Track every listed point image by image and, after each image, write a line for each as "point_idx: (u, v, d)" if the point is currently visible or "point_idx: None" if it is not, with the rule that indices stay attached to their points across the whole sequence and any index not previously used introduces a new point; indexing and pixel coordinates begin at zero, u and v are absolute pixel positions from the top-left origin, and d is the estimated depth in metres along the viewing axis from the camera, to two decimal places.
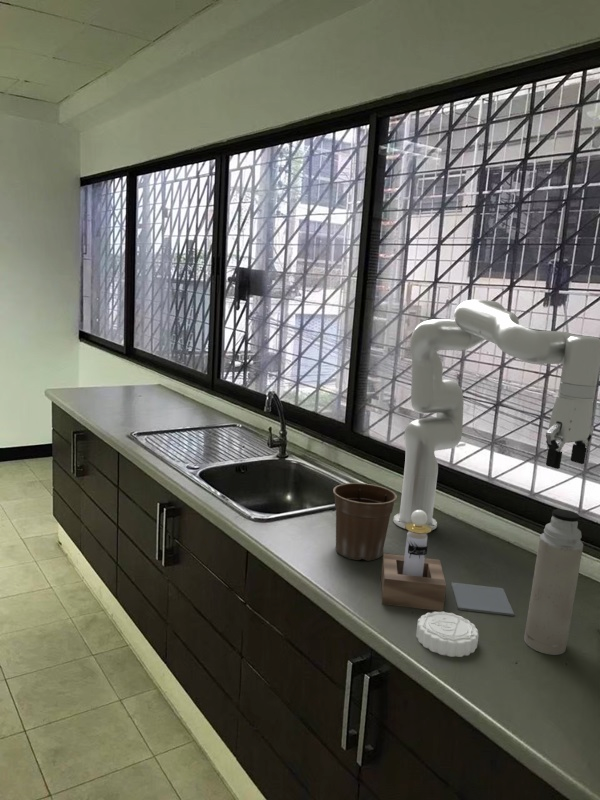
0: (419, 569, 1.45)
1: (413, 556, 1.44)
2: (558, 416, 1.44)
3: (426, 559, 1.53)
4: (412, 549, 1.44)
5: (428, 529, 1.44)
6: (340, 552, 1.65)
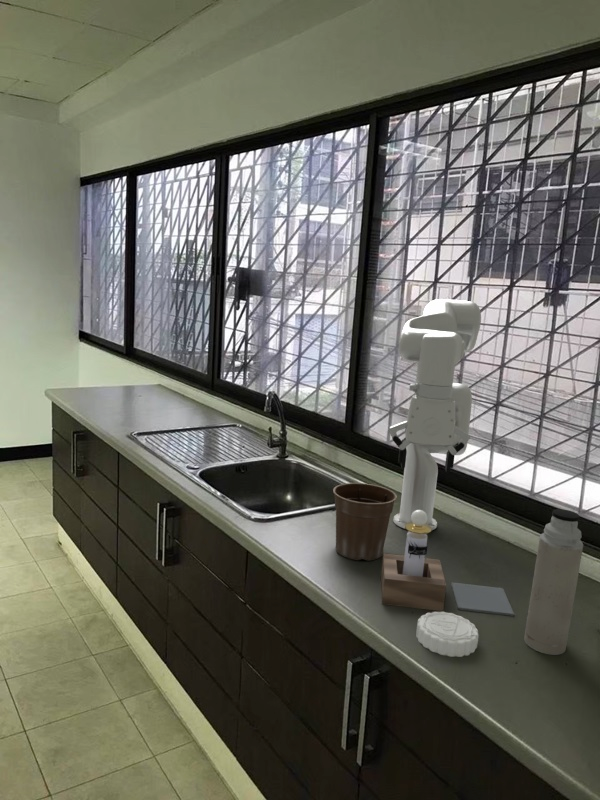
0: (419, 569, 1.45)
1: (413, 556, 1.44)
2: None
3: (426, 559, 1.53)
4: (412, 549, 1.44)
5: (428, 529, 1.44)
6: (340, 552, 1.65)
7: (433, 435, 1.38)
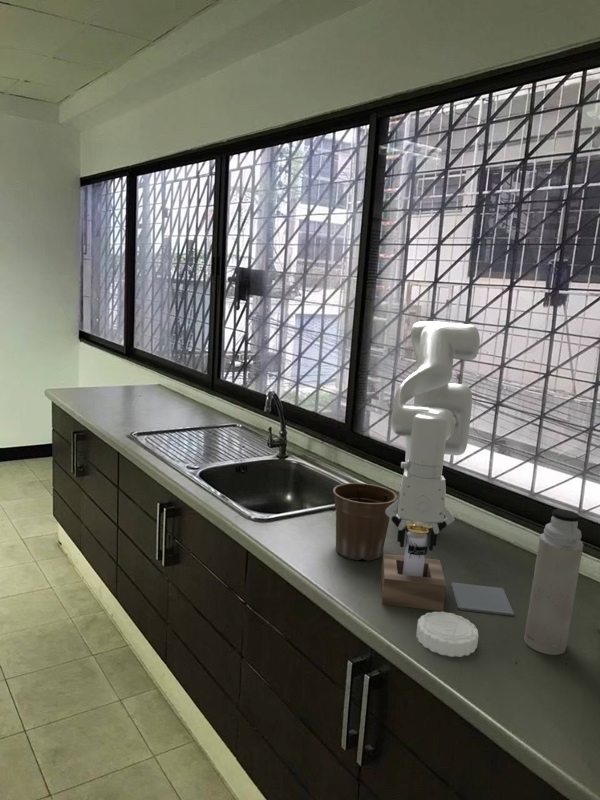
0: (419, 569, 1.45)
1: (413, 556, 1.44)
2: None
3: (426, 559, 1.53)
4: (412, 549, 1.44)
5: (428, 529, 1.44)
6: (340, 552, 1.65)
7: (424, 512, 1.42)
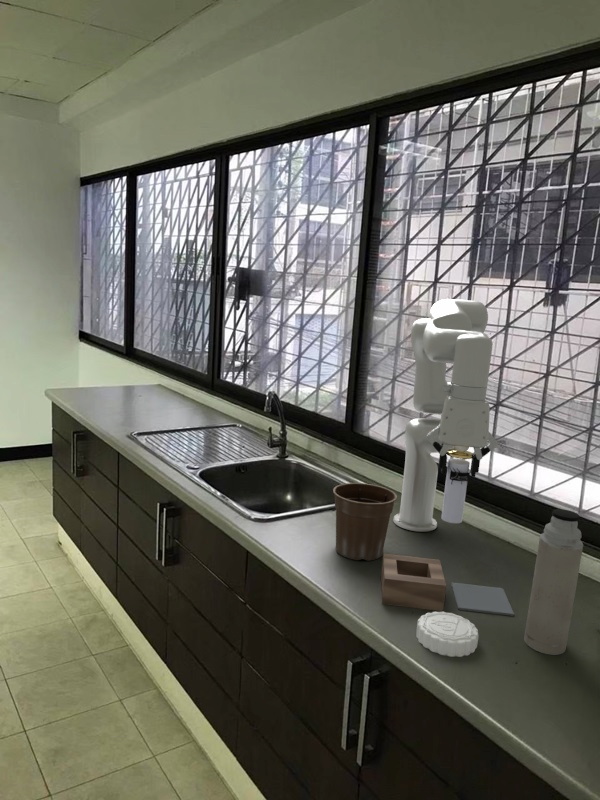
0: (461, 496, 1.42)
1: (455, 482, 1.41)
2: None
3: (426, 559, 1.53)
4: (454, 475, 1.40)
5: (470, 455, 1.40)
6: (340, 552, 1.65)
7: (467, 436, 1.38)
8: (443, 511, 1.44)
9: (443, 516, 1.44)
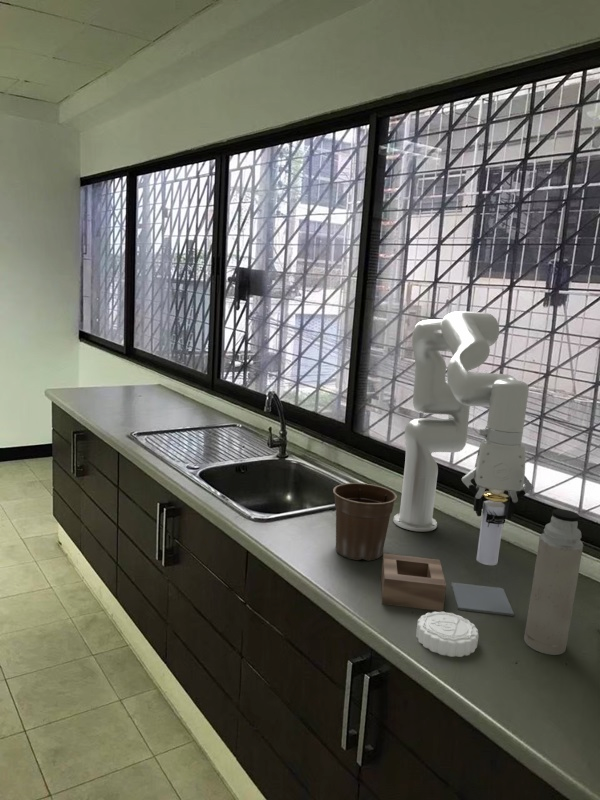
0: (497, 538, 1.43)
1: (491, 525, 1.42)
2: None
3: (426, 559, 1.53)
4: (491, 518, 1.41)
5: (506, 497, 1.42)
6: (340, 552, 1.65)
7: (503, 480, 1.39)
8: (479, 553, 1.45)
9: (479, 558, 1.45)
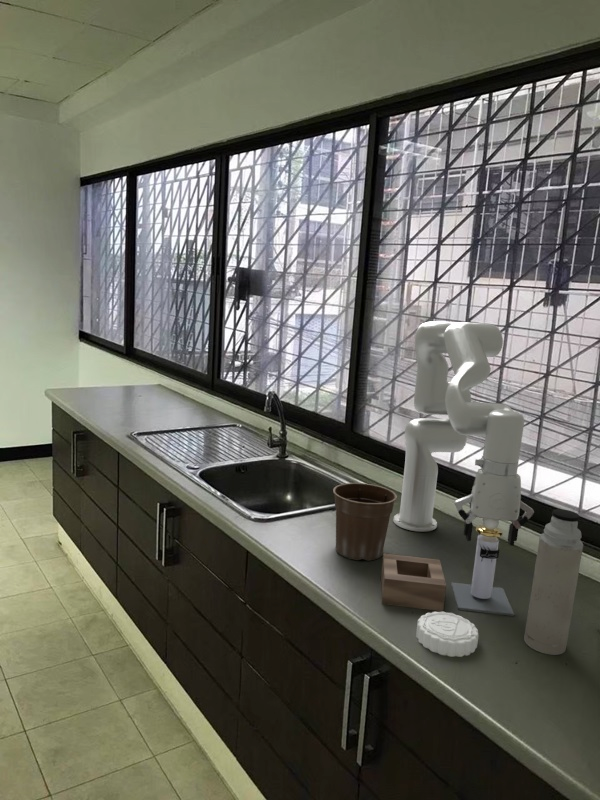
0: (491, 573, 1.45)
1: (485, 560, 1.44)
2: None
3: (426, 559, 1.53)
4: (484, 552, 1.43)
5: (500, 532, 1.44)
6: (340, 552, 1.65)
7: (499, 510, 1.41)
8: (473, 586, 1.47)
9: (473, 591, 1.47)
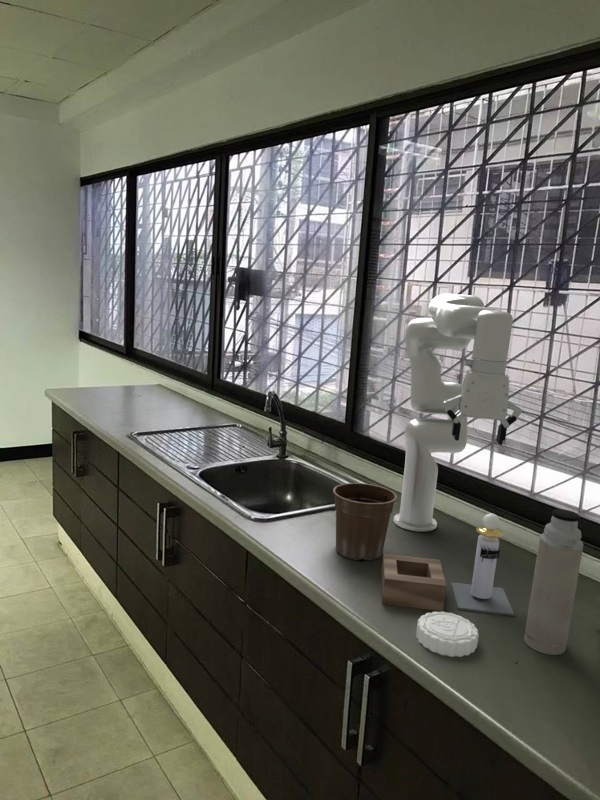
0: (491, 573, 1.45)
1: (485, 560, 1.44)
2: None
3: (426, 559, 1.53)
4: (485, 553, 1.43)
5: (500, 533, 1.44)
6: (340, 552, 1.65)
7: (487, 409, 1.43)
8: (473, 586, 1.47)
9: (473, 591, 1.47)
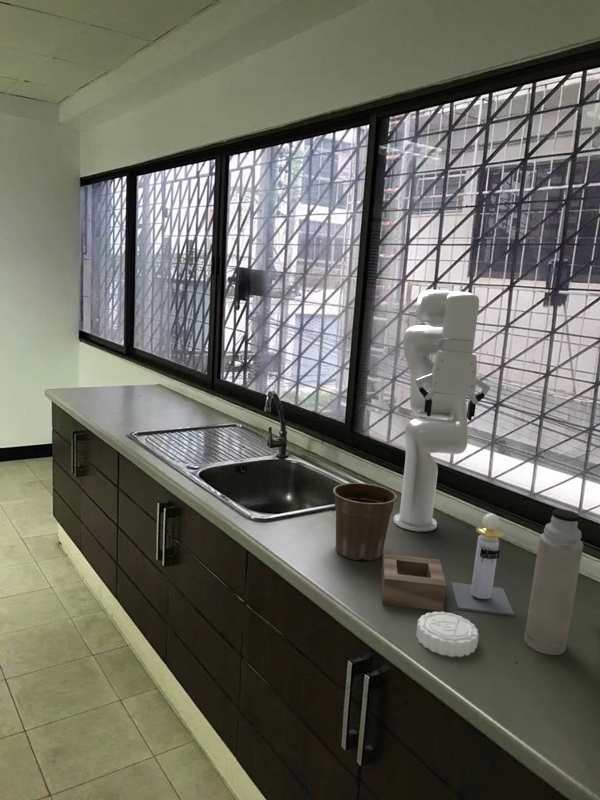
0: (491, 573, 1.45)
1: (485, 560, 1.44)
2: None
3: (426, 559, 1.53)
4: (484, 553, 1.43)
5: (500, 533, 1.44)
6: (340, 552, 1.65)
7: (456, 385, 1.52)
8: (473, 586, 1.47)
9: (473, 591, 1.47)
